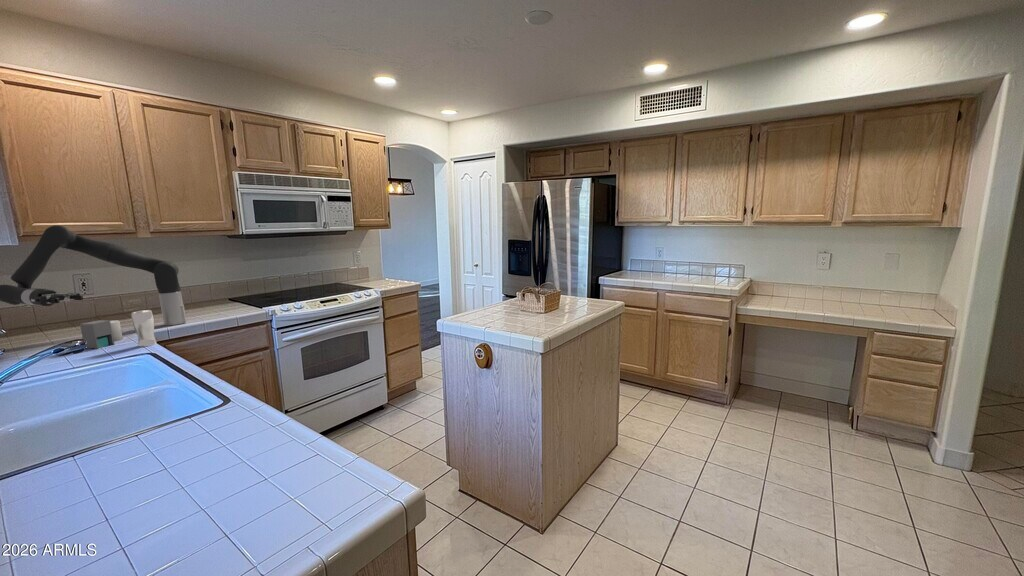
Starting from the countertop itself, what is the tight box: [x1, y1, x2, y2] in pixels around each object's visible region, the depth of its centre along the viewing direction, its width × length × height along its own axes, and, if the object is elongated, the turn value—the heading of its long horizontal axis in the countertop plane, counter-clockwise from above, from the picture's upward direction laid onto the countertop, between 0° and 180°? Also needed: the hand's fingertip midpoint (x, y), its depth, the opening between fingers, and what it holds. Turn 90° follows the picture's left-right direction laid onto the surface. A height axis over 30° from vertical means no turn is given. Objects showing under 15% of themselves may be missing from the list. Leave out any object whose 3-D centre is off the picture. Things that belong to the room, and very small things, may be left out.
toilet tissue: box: [109, 319, 124, 343], centre depth 189 cm, size 9×13×9 cm
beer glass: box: [131, 309, 157, 348], centre depth 180 cm, size 7×7×15 cm
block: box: [97, 337, 110, 349], centre depth 180 cm, size 4×4×4 cm
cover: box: [79, 319, 115, 350], centre depth 180 cm, size 7×7×11 cm
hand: (70, 299), depth 179 cm, fingers open, 8 cm apart
